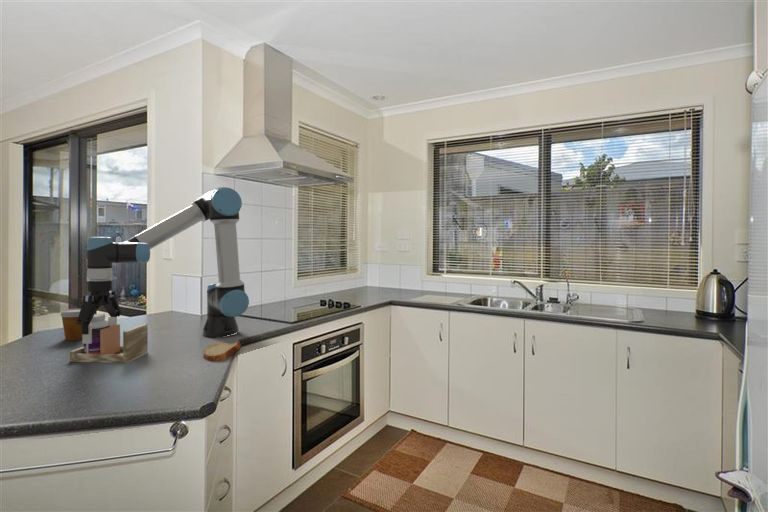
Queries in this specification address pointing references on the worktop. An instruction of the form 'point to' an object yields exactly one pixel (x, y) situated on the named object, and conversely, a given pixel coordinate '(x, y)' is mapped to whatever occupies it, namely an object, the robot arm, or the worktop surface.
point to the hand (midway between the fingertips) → (100, 338)
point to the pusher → (110, 339)
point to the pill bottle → (96, 334)
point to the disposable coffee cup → (71, 324)
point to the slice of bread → (220, 351)
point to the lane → (131, 349)
